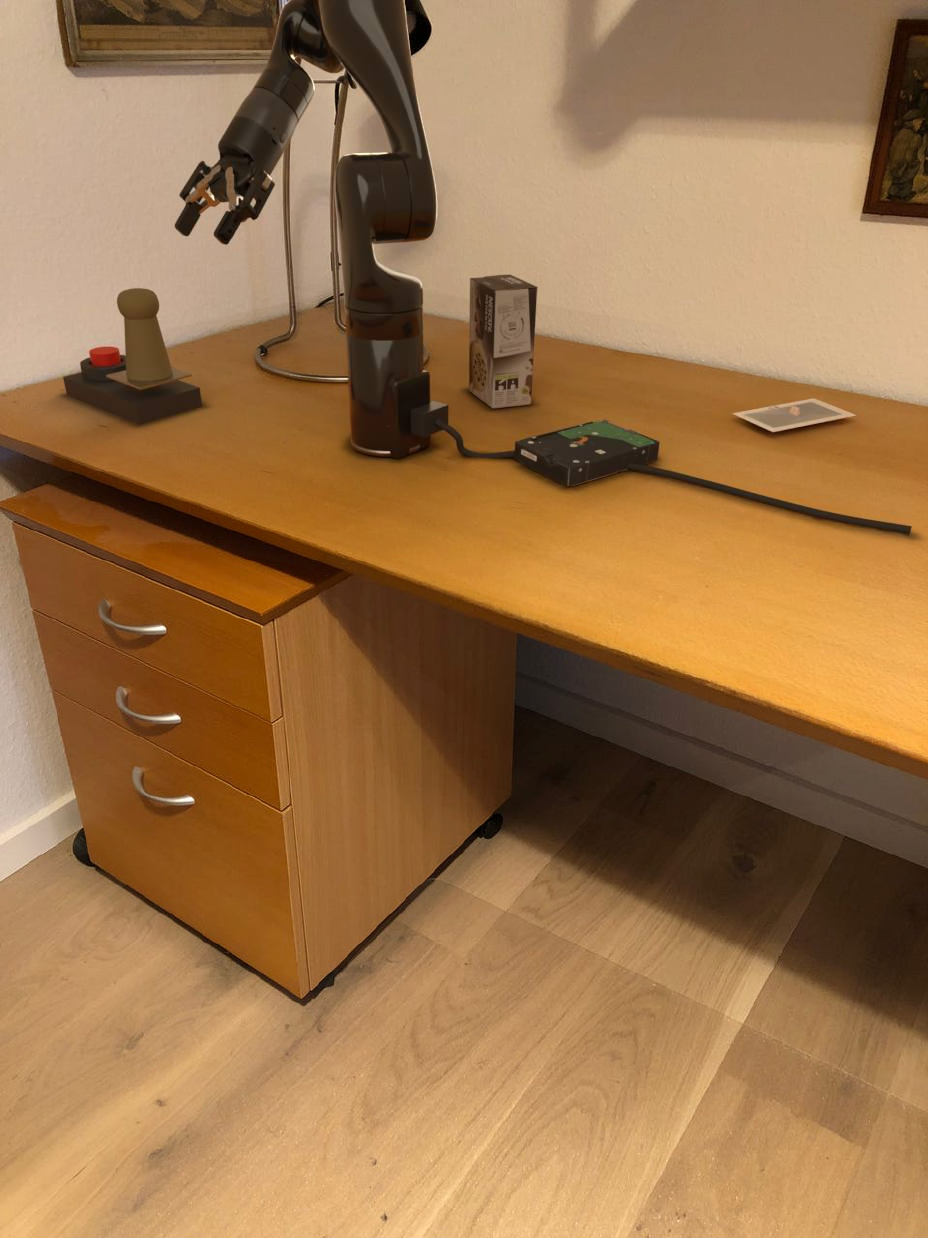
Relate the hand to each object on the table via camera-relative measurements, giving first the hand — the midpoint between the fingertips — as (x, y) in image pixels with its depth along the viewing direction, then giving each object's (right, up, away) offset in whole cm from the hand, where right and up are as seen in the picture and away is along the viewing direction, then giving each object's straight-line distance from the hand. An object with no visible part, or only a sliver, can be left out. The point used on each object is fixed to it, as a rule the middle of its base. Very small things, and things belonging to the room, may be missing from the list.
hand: (199, 236), depth 126 cm
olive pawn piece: (-7, -18, +2) cm, 20 cm away
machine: (-11, -20, +7) cm, 24 cm away
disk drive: (+50, -32, -10) cm, 60 cm away
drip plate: (-7, -18, +1) cm, 20 cm away
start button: (-15, -15, +7) cm, 23 cm away
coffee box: (+40, -19, +10) cm, 46 cm away
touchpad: (+80, -24, +3) cm, 84 cm away
